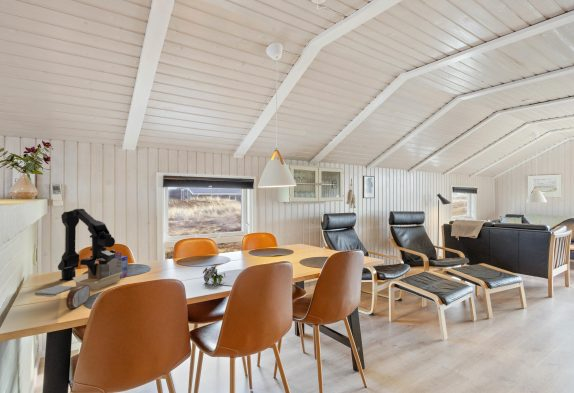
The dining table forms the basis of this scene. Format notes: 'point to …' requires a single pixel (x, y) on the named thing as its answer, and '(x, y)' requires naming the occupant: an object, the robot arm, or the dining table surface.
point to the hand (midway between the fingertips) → (98, 274)
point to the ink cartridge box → (119, 265)
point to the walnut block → (99, 272)
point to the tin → (78, 296)
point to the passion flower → (212, 275)
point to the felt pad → (54, 290)
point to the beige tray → (96, 280)
